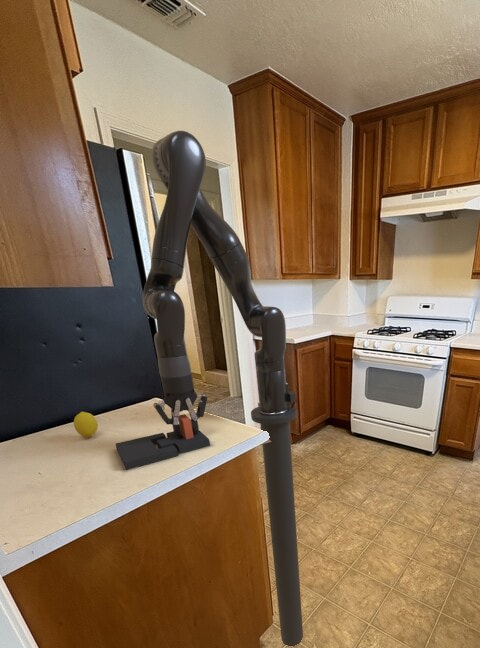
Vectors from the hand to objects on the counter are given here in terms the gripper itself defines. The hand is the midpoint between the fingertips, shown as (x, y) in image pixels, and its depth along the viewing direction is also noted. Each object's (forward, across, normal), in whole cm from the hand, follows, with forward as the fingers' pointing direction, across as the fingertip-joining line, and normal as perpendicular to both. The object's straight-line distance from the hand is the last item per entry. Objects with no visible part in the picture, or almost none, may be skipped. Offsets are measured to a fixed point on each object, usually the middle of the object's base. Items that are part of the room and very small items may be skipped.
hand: (187, 434), depth 97 cm
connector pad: (+2, -2, 0) cm, 3 cm away
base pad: (+2, -11, 0) cm, 11 cm away
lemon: (+3, -22, +22) cm, 31 cm away
